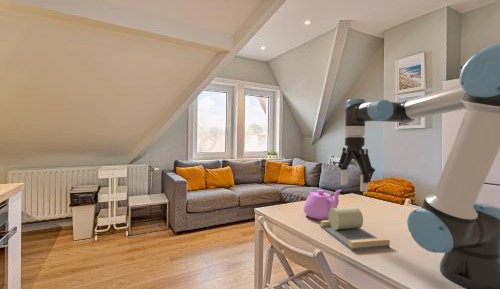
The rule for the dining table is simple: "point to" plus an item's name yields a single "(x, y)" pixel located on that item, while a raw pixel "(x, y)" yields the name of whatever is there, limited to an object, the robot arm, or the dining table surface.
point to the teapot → (320, 204)
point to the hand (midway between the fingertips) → (353, 187)
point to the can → (345, 218)
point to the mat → (355, 238)
